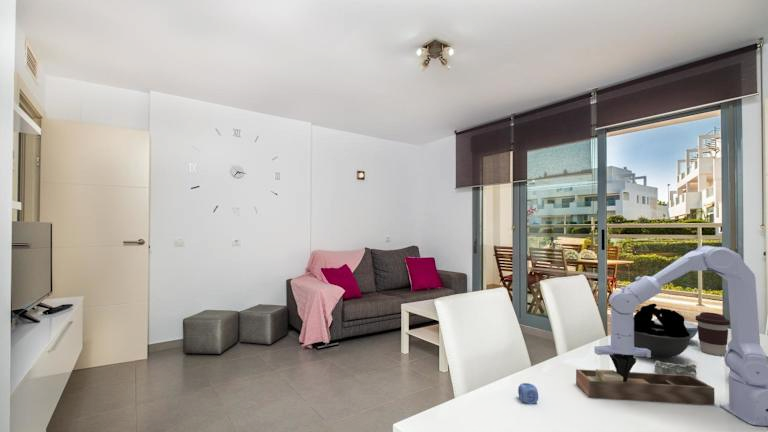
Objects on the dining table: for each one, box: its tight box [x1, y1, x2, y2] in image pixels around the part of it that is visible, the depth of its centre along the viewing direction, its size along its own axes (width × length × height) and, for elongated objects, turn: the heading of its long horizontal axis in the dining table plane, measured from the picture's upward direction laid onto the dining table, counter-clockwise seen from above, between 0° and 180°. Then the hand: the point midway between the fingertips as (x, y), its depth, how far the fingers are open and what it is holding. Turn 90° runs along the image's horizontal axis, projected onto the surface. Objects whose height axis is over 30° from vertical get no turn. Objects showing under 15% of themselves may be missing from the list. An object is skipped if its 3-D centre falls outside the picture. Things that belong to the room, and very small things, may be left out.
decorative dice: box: [517, 382, 539, 405], centre depth 98 cm, size 4×4×4 cm
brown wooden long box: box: [575, 368, 715, 406], centre depth 103 cm, size 32×9×4 cm, turn 85°
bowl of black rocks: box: [633, 303, 692, 359], centre depth 134 cm, size 20×20×19 cm
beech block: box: [595, 368, 623, 382], centre depth 104 cm, size 5×5×2 cm
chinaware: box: [653, 318, 698, 340], centre depth 153 cm, size 15×15×8 cm
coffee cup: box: [695, 311, 731, 356], centre depth 139 cm, size 10×10×15 cm
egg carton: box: [654, 360, 698, 379], centre depth 117 cm, size 11×8×4 cm
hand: (622, 380), depth 103 cm, fingers closed
